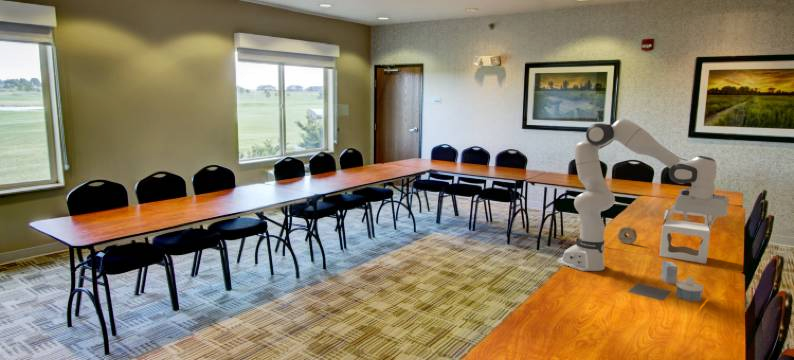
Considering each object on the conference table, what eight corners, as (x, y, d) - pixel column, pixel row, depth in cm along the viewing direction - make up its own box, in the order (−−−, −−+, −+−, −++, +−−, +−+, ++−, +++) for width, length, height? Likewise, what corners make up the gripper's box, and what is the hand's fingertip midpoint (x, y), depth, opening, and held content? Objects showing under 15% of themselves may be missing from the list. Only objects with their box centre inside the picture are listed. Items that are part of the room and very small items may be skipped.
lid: (673, 287, 215) (674, 278, 215) (679, 281, 223) (680, 272, 222) (700, 293, 209) (701, 284, 208) (705, 287, 216) (706, 278, 216)
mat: (627, 292, 222) (627, 291, 222) (638, 284, 232) (638, 283, 232) (662, 301, 212) (662, 300, 212) (671, 292, 223) (671, 291, 223)
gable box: (707, 257, 274) (713, 206, 270) (706, 264, 263) (712, 211, 259) (661, 250, 286) (666, 201, 282) (658, 256, 275) (664, 205, 271)
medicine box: (676, 285, 232) (678, 267, 231) (665, 284, 233) (667, 266, 231) (670, 279, 240) (672, 261, 238) (660, 278, 240) (662, 260, 239)
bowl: (674, 298, 216) (675, 287, 215) (679, 292, 223) (680, 281, 222) (697, 304, 210) (699, 292, 210) (702, 298, 217) (704, 287, 216)
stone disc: (637, 244, 296) (638, 228, 295) (634, 245, 294) (635, 229, 292) (619, 240, 304) (621, 224, 302) (616, 241, 301) (618, 225, 300)
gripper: (731, 195, 221) (727, 226, 223) (679, 188, 234) (675, 218, 237) (728, 197, 216) (724, 228, 218) (675, 190, 230) (672, 220, 232)
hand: (698, 223), depth 228 cm, fingers open, 8 cm apart
